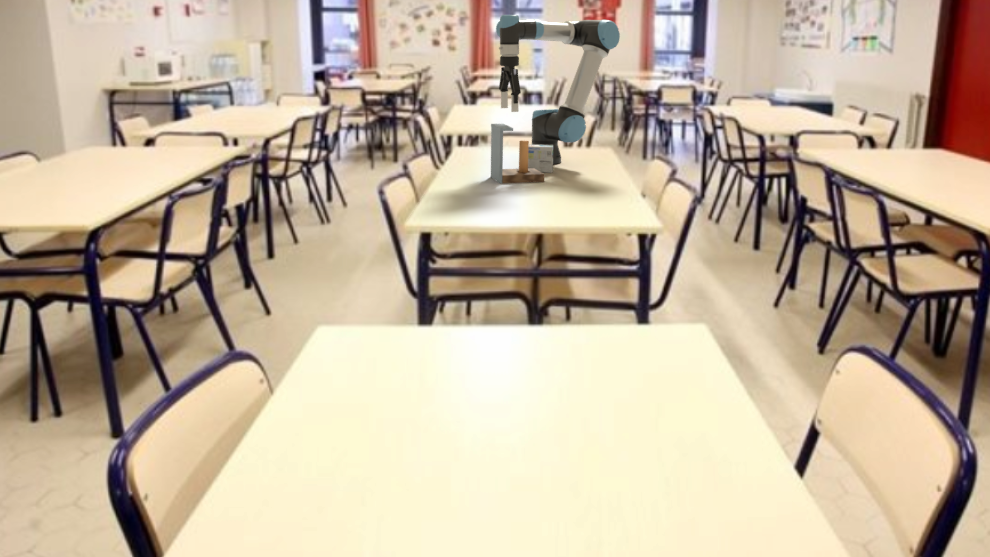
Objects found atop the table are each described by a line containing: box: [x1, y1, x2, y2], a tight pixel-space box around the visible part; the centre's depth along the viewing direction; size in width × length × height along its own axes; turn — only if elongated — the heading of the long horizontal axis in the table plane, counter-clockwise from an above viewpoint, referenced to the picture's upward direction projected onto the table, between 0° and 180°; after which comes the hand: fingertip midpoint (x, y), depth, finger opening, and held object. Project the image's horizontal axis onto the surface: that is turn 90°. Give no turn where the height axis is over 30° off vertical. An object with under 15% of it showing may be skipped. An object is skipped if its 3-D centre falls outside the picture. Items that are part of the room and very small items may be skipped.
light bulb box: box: [528, 144, 554, 174], centre depth 347 cm, size 11×7×11 cm, turn 84°
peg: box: [518, 140, 530, 173], centre depth 327 cm, size 4×4×15 cm
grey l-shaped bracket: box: [490, 123, 514, 184], centre depth 324 cm, size 5×15×21 cm, turn 14°
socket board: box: [501, 168, 545, 184], centre depth 329 cm, size 17×14×3 cm
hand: (509, 110), depth 336 cm, fingers open, 13 cm apart
